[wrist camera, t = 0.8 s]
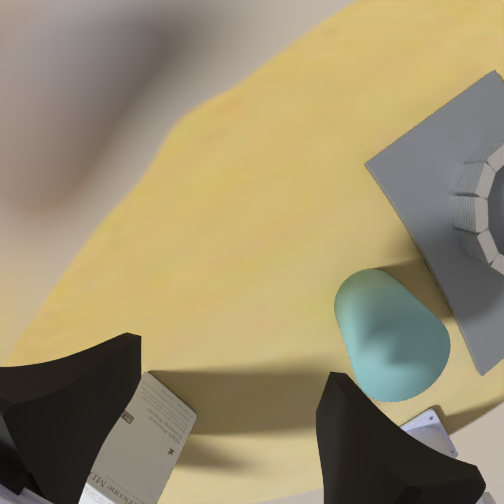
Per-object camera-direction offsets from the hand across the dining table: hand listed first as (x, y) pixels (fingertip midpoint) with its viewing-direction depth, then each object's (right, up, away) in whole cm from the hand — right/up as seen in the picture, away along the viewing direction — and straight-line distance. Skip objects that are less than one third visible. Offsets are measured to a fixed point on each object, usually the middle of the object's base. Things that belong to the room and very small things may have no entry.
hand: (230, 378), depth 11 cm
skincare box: (-7, -8, +14) cm, 18 cm away
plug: (+9, +1, +10) cm, 13 cm away
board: (+20, +6, +8) cm, 22 cm away
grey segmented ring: (+18, +8, +6) cm, 21 cm away
